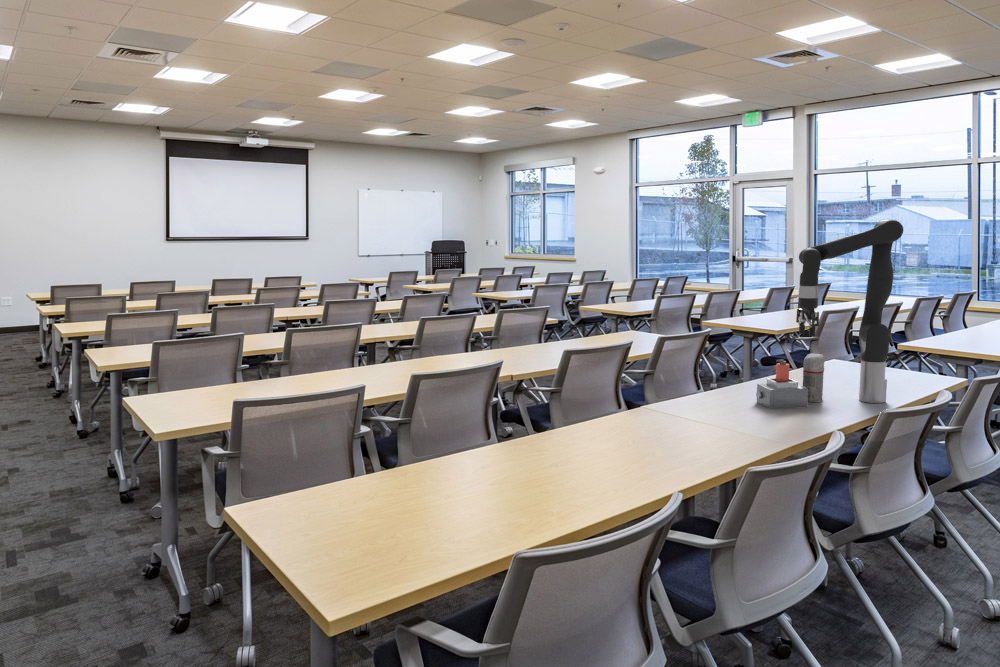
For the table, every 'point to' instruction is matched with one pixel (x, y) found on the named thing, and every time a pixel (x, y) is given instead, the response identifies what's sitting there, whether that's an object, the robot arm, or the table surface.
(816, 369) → the spray can
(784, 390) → the gearbox
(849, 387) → the table surface
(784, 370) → the oil can
